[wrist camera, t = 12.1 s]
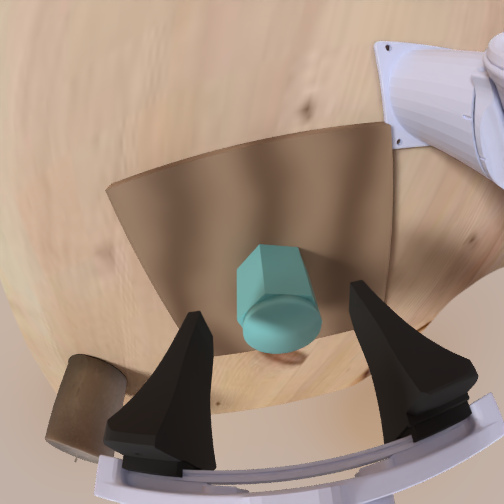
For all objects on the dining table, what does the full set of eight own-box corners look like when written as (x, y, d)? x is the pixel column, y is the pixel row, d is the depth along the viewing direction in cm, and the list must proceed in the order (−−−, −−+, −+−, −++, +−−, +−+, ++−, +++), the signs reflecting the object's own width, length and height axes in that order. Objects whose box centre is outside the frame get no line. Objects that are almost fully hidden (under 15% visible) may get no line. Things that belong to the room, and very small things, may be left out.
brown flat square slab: (382, 121, 16) (390, 124, 16) (377, 314, 28) (380, 322, 27) (111, 183, 18) (105, 190, 17) (199, 349, 30) (198, 358, 29)
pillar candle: (57, 355, 32) (29, 441, 19) (100, 351, 30) (72, 456, 18) (96, 389, 37) (79, 467, 25) (141, 388, 36) (127, 478, 23)
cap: (291, 232, 20) (308, 288, 15) (312, 286, 23) (329, 342, 18) (228, 256, 21) (226, 315, 16) (258, 305, 24) (262, 362, 19)
